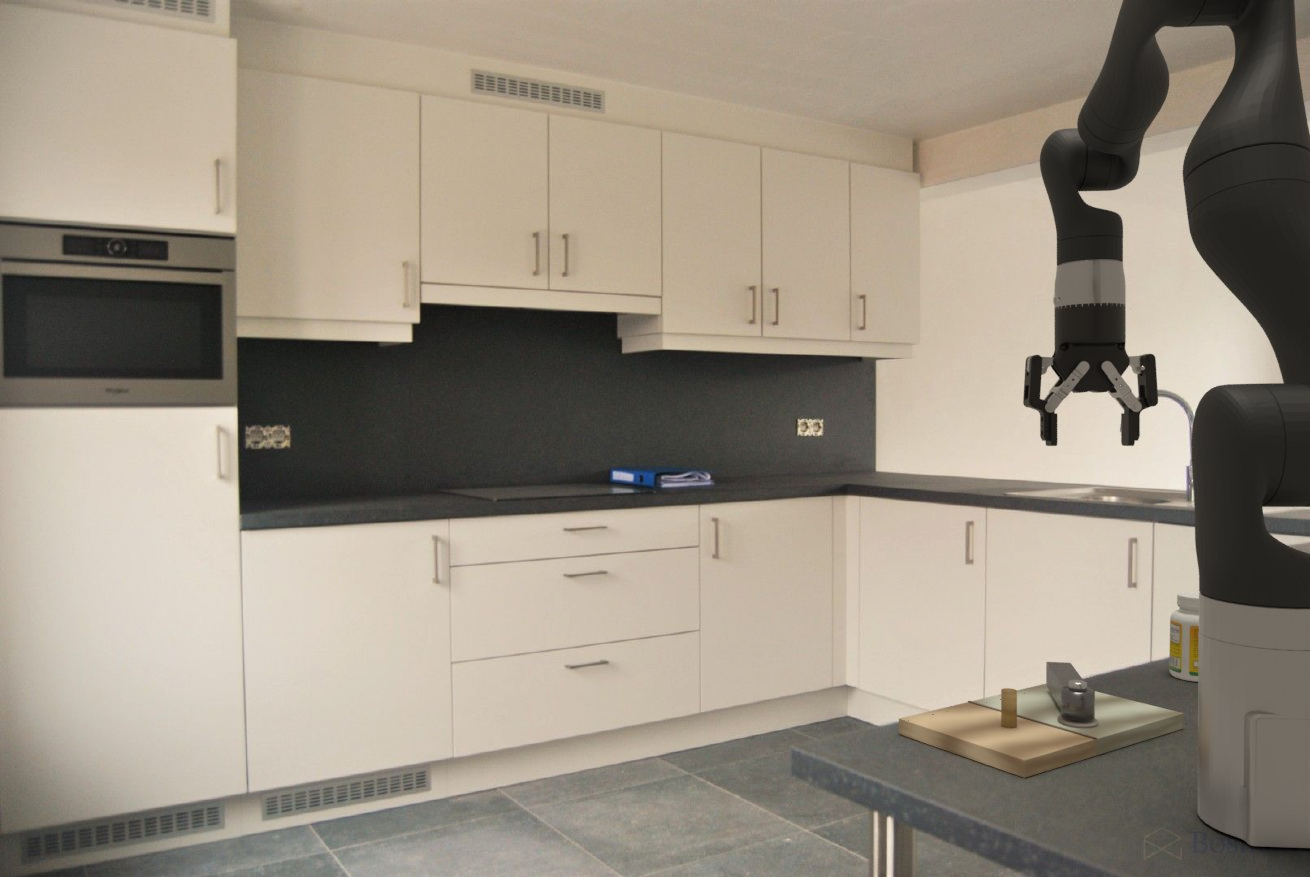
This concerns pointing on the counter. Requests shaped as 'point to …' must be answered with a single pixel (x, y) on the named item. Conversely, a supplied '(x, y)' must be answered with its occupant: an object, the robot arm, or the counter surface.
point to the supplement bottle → (1185, 637)
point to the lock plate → (1036, 729)
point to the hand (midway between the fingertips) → (1089, 445)
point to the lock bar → (1070, 691)
